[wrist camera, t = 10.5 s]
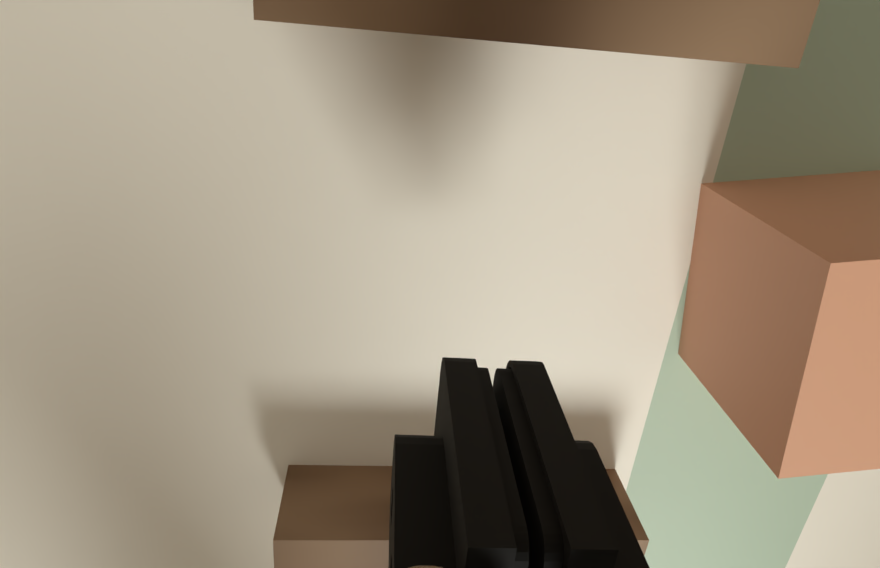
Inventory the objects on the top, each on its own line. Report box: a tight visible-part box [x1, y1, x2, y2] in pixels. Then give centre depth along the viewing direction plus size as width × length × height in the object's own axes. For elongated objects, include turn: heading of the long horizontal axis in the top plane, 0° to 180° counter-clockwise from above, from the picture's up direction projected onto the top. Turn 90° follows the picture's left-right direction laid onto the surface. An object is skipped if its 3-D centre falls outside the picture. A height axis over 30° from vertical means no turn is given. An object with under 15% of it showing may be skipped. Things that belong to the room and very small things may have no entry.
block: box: [678, 170, 880, 479], centre depth 13 cm, size 4×4×4 cm
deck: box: [0, 0, 880, 568], centre depth 15 cm, size 34×20×6 cm, turn 85°
